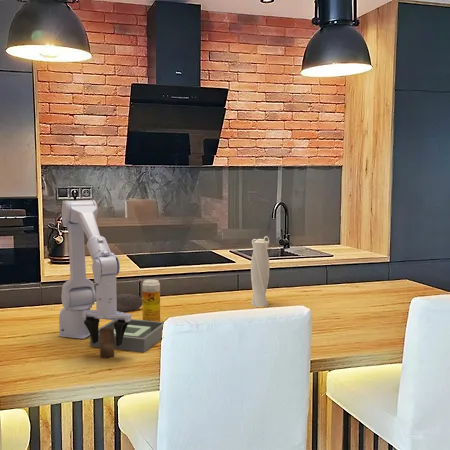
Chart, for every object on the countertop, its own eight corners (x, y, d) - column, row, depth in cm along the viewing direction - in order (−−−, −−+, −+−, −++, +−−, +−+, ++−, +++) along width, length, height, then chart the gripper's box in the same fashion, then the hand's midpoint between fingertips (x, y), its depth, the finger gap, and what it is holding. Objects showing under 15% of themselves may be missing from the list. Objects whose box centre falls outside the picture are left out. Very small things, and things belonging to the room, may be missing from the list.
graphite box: (90, 346, 168) (89, 333, 168) (117, 329, 186) (117, 317, 185) (144, 352, 163) (144, 339, 163) (167, 334, 181) (167, 322, 180)
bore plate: (108, 340, 171) (108, 333, 171) (122, 331, 181) (122, 324, 180) (137, 344, 168) (137, 336, 168) (151, 334, 178) (151, 326, 177)
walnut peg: (97, 357, 159) (97, 330, 158) (104, 353, 163) (104, 326, 162) (110, 359, 158) (109, 331, 157) (116, 354, 162) (116, 327, 161)
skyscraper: (272, 307, 216) (274, 236, 212) (255, 309, 213) (256, 237, 210) (263, 302, 223) (265, 233, 220) (247, 304, 220) (248, 234, 217)
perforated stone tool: (141, 307, 213) (141, 290, 212) (145, 311, 208) (145, 293, 208) (102, 311, 207) (102, 293, 206) (105, 315, 202) (105, 296, 202)
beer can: (143, 326, 189) (143, 283, 187) (141, 321, 195) (141, 279, 193) (161, 325, 191) (161, 282, 189) (158, 320, 197) (158, 278, 195)
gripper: (76, 299, 156) (77, 345, 158) (123, 303, 152) (123, 350, 154) (89, 293, 163) (90, 338, 165) (134, 297, 159) (134, 342, 161)
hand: (107, 343), depth 160 cm, fingers open, 7 cm apart
